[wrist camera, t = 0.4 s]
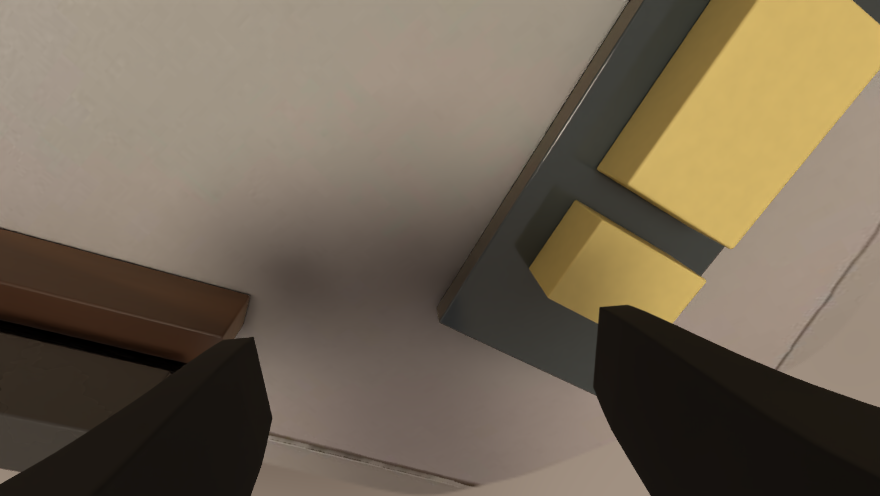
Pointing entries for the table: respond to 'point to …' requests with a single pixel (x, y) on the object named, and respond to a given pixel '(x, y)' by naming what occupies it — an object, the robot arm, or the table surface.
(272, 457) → the table surface
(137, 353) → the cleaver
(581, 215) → the butter pat
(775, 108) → the butter stick
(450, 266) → the table surface
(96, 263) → the knife rack
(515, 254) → the butter board
